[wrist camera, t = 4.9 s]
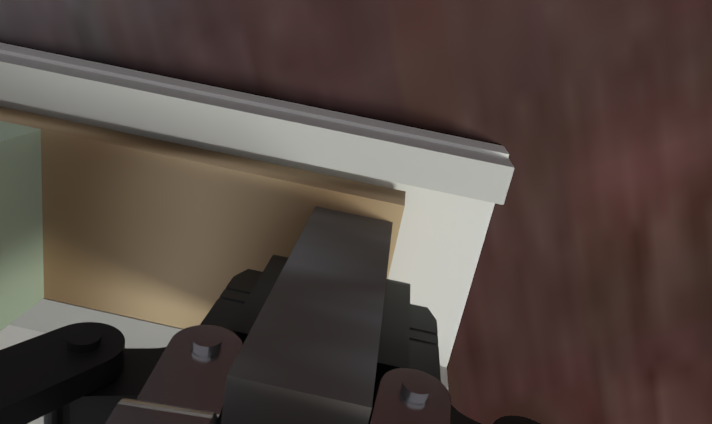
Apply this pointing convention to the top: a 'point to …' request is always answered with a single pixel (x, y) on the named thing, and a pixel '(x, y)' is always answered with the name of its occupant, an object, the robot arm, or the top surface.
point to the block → (20, 221)
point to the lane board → (282, 147)
